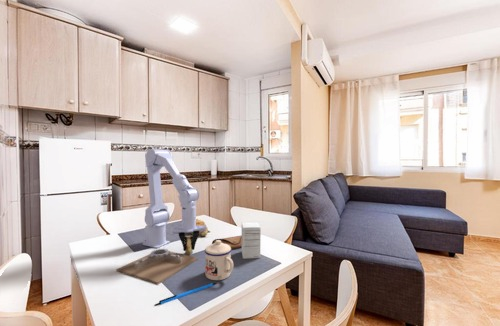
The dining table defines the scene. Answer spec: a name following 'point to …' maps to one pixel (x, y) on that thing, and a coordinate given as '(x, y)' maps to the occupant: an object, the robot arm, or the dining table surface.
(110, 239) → the dining table surface
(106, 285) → the dining table surface
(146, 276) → the board
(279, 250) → the dining table surface
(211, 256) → the teacup with lid
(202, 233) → the croissant
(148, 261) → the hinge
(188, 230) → the robot arm
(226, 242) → the sunglasses case
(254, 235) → the supplement box
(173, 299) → the pen
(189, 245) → the brass pin
